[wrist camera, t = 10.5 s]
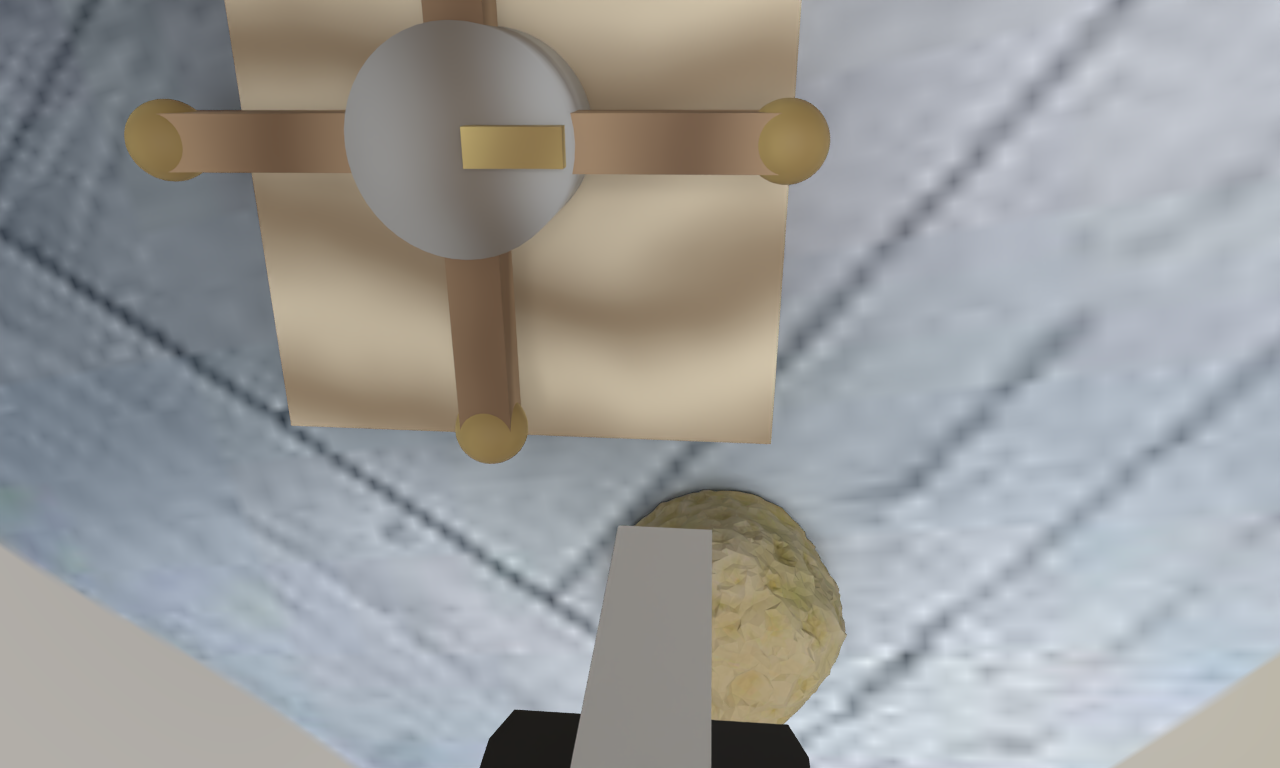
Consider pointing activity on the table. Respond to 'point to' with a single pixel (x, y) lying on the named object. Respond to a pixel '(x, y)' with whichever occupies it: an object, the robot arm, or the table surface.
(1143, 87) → the table surface
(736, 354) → the stand
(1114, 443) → the table surface
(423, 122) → the capstan
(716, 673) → the decorative object
